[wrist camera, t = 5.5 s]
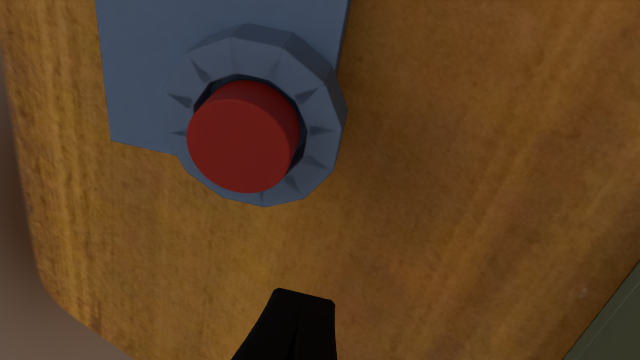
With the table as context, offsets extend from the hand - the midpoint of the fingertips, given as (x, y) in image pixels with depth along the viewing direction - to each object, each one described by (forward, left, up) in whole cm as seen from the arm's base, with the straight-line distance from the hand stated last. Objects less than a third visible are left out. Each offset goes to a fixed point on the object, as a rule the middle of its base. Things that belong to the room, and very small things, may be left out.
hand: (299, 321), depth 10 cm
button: (+1, +3, -7) cm, 8 cm away
